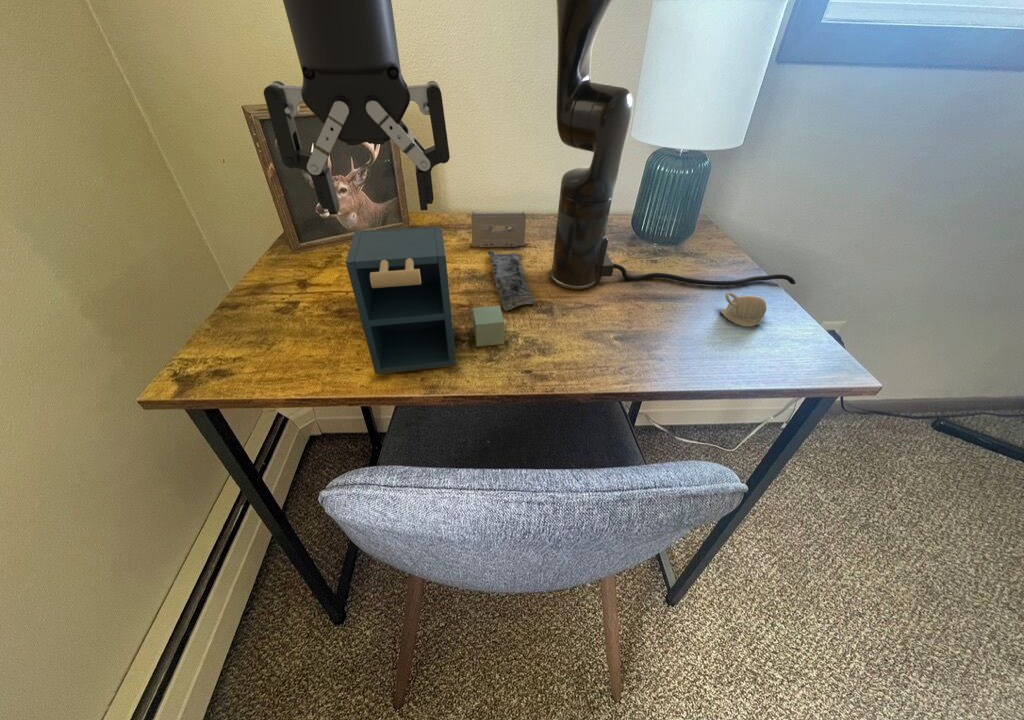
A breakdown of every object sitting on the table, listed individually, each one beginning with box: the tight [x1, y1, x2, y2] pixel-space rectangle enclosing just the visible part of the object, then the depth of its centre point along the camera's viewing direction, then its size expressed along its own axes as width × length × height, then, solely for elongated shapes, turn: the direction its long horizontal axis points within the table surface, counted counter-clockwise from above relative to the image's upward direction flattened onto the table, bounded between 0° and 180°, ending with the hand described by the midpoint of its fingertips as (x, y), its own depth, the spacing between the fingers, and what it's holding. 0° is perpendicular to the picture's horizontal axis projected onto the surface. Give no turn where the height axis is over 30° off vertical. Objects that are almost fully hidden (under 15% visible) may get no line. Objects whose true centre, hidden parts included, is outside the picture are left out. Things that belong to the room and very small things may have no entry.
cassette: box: [470, 211, 527, 248], centre depth 90 cm, size 12×2×8 cm, turn 95°
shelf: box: [345, 225, 457, 375], centre depth 57 cm, size 18×12×15 cm
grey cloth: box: [486, 250, 536, 312], centre depth 81 cm, size 21×7×2 cm, turn 9°
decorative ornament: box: [720, 291, 767, 328], centre depth 72 cm, size 4×8×5 cm, turn 78°
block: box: [471, 305, 505, 348], centre depth 67 cm, size 5×5×5 cm
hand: (380, 209), depth 40 cm, fingers open, 8 cm apart
